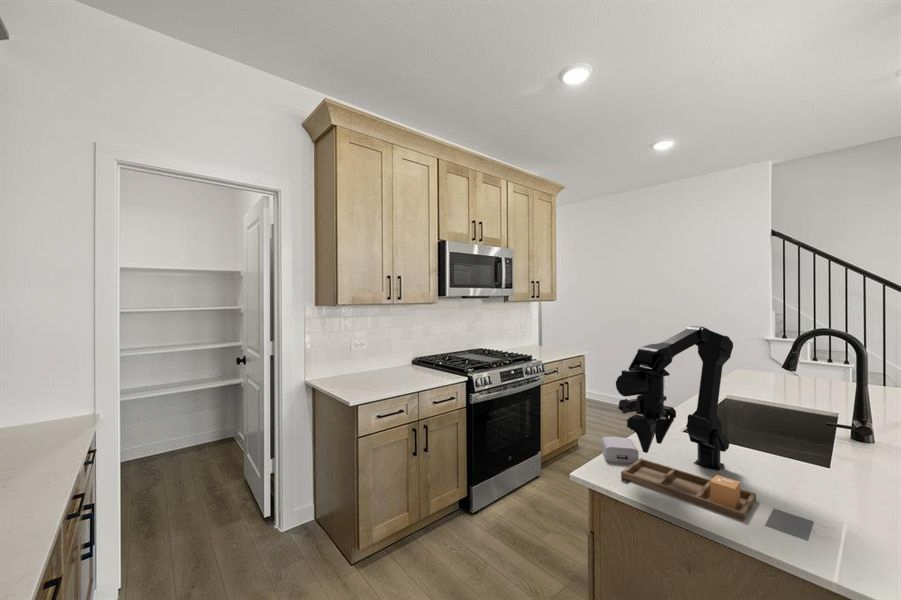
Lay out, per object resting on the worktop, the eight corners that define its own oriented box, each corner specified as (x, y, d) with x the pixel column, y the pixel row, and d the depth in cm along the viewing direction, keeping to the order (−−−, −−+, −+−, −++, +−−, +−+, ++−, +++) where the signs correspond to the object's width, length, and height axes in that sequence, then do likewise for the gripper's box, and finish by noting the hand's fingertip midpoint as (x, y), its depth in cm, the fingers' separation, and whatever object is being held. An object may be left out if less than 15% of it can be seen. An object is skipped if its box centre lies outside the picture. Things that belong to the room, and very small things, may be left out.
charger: (627, 445, 132) (638, 464, 117) (599, 443, 134) (606, 461, 120) (627, 431, 132) (638, 449, 117) (599, 429, 134) (606, 446, 119)
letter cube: (716, 494, 98) (716, 474, 98) (740, 502, 94) (740, 481, 94) (710, 501, 95) (710, 481, 95) (734, 509, 91) (734, 488, 91)
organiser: (640, 465, 116) (640, 458, 116) (756, 502, 95) (756, 493, 95) (621, 479, 108) (621, 471, 108) (743, 523, 87) (743, 514, 87)
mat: (773, 510, 92) (773, 508, 92) (813, 523, 86) (813, 521, 86) (764, 528, 85) (764, 525, 85) (807, 543, 80) (807, 540, 80)
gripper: (637, 382, 119) (637, 431, 120) (607, 393, 107) (608, 448, 107) (676, 388, 111) (676, 442, 111) (649, 401, 99) (649, 461, 99)
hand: (652, 447), depth 107 cm, fingers open, 9 cm apart
